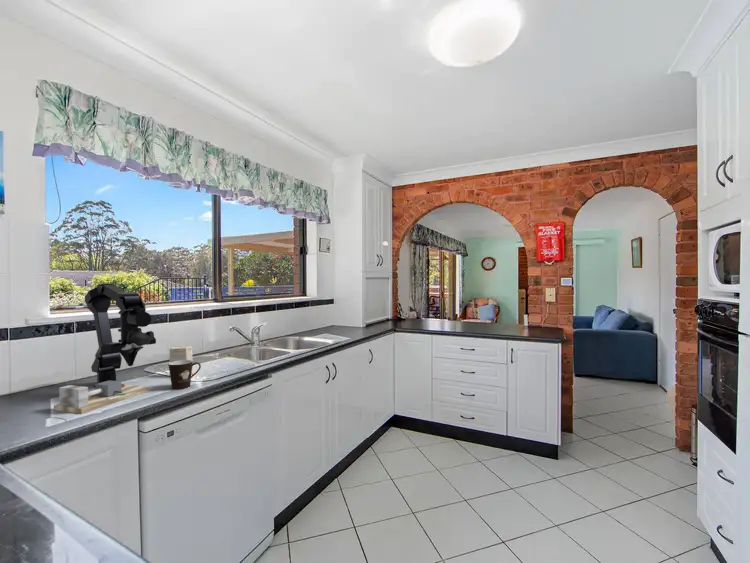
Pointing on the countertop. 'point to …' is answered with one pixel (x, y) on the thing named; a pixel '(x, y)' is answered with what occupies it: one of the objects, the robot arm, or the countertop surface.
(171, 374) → the coffee mug
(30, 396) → the countertop surface
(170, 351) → the supplement box
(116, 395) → the bench
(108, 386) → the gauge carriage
